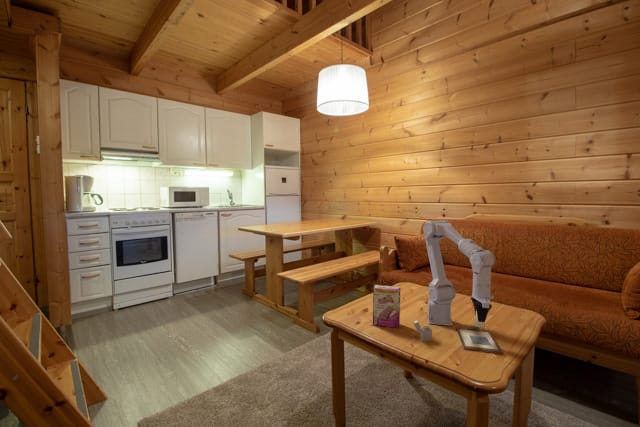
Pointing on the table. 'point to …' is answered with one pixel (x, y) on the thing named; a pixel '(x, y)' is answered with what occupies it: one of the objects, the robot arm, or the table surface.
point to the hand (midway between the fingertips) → (480, 319)
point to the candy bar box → (386, 306)
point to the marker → (479, 324)
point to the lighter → (423, 332)
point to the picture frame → (477, 339)
